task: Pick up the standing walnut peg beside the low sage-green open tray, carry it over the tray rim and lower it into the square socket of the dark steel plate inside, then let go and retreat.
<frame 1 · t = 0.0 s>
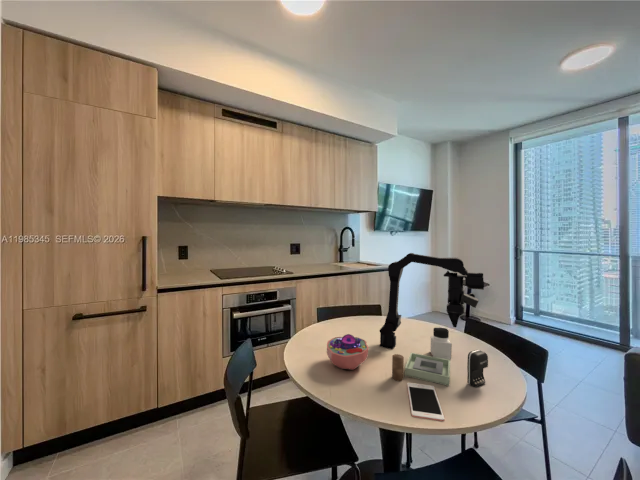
hand: (454, 324, 118), 15 cm above the table, fingers open, 9 cm apart
peg: (397, 378, 101), on the table
battery charger: (477, 384, 98), on the table
cell phone: (423, 402, 88), on the table
cell model: (347, 365, 111), on the table
tray: (428, 371, 106), on the table
medicine bottle: (440, 356, 120), on the table
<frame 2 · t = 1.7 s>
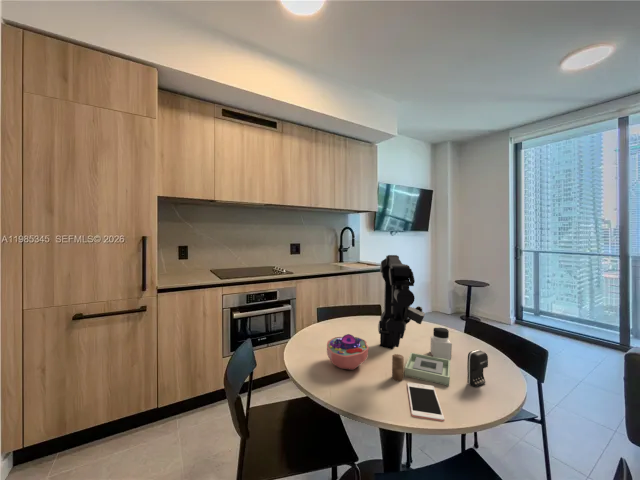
hand: (399, 342, 101), 13 cm above the table, fingers open, 9 cm apart
nothing on the table moved.
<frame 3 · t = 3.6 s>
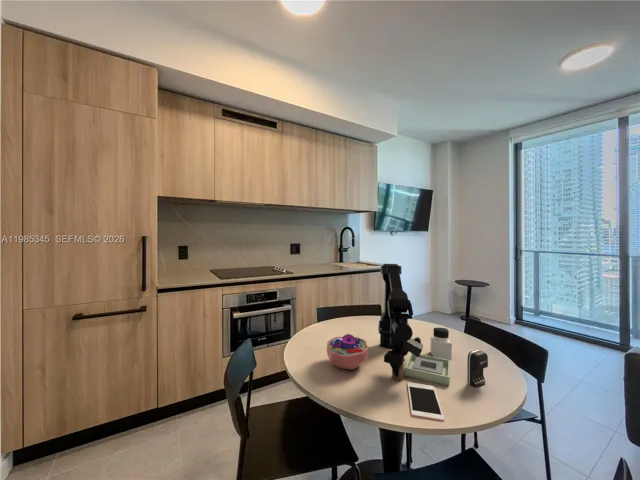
hand: (397, 373, 101), 2 cm above the table, fingers closed on peg, 4 cm apart
peg: (397, 378, 101), on the table, touching gripper
everything else where it was.
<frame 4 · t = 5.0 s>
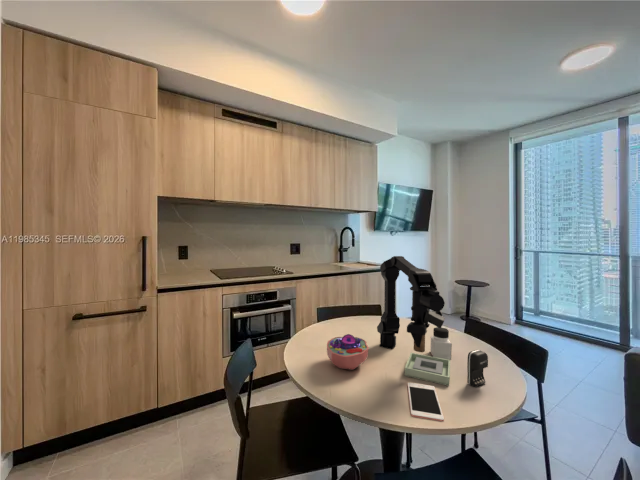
hand: (419, 345, 104), 11 cm above the table, fingers closed on peg, 4 cm apart
peg: (419, 350, 104), point 9 cm above the table, touching gripper
everything else where it was.
when the fingers open (4 cm above the table, at t = 6.6 s): peg drops 1 cm, resting on tray.
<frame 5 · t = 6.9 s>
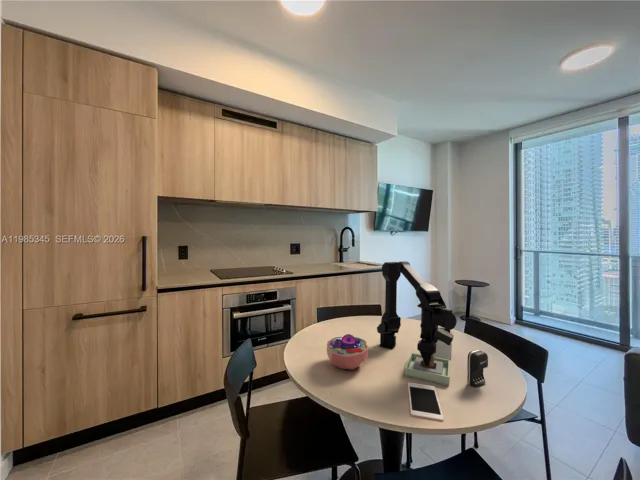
hand: (428, 361, 106), 4 cm above the table, fingers open, 8 cm apart
peg: (428, 369, 106), point 1 cm above the table, touching tray
everything else where it was.
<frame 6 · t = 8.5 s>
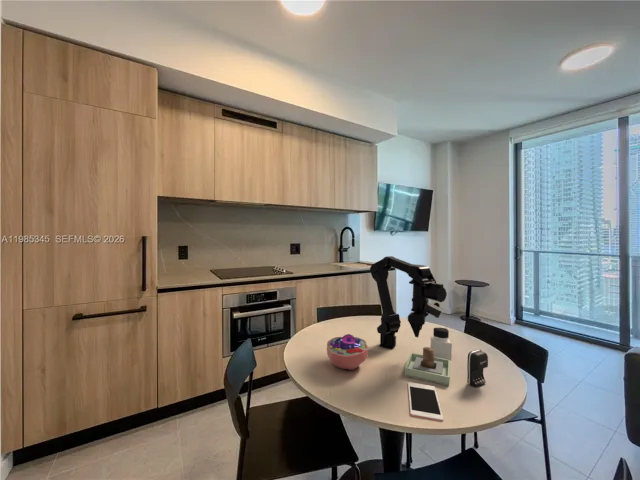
hand: (418, 333, 115), 12 cm above the table, fingers open, 9 cm apart
nothing on the table moved.
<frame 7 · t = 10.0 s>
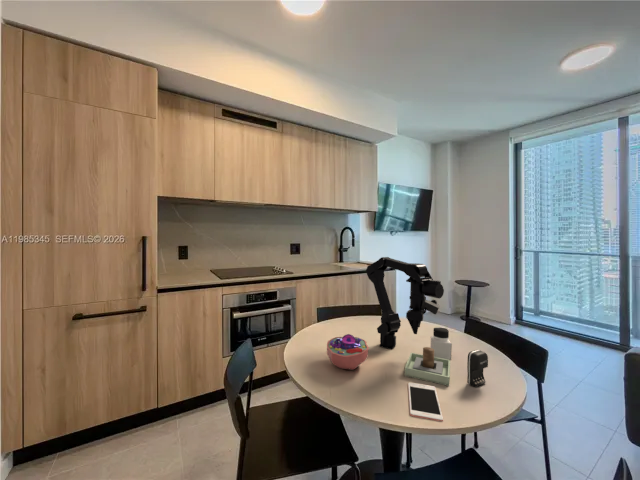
hand: (416, 330, 117), 12 cm above the table, fingers open, 9 cm apart
nothing on the table moved.
at the end: peg 0.0 cm off-centre on the tray, point 0.6 cm above the tray's base; peg tilted 0°; the gripper is holding nothing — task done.
